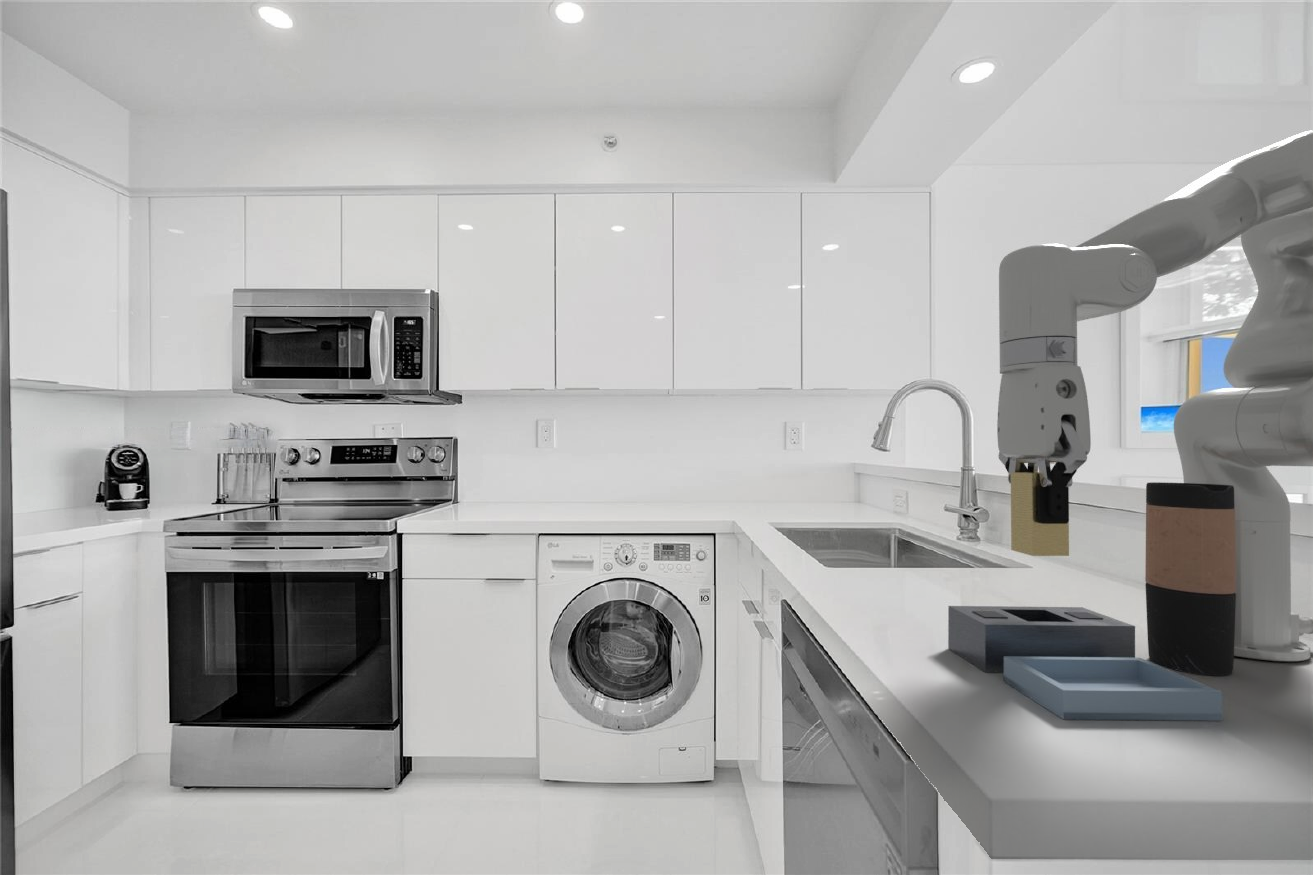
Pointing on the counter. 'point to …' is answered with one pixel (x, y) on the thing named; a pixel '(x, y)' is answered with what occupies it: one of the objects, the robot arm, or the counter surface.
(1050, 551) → the brushed brass bar
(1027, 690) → the parts tray
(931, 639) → the counter surface
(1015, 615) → the grey slotted block
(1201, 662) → the travel mug
